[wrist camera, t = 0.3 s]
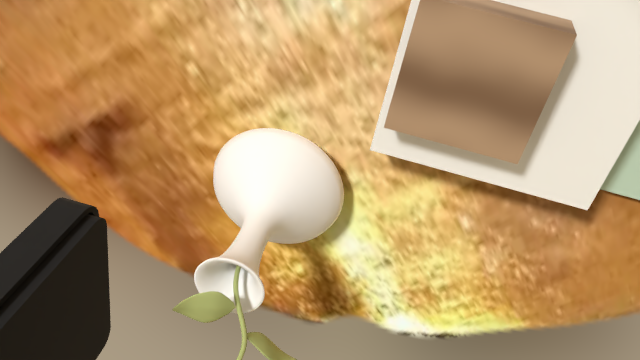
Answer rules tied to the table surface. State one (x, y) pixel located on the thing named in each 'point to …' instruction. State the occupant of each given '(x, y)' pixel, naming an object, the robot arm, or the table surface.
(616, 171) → the green mat
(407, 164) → the table surface
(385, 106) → the flat white rectangular box
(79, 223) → the robot arm
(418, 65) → the walnut block
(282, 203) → the flower in vase
